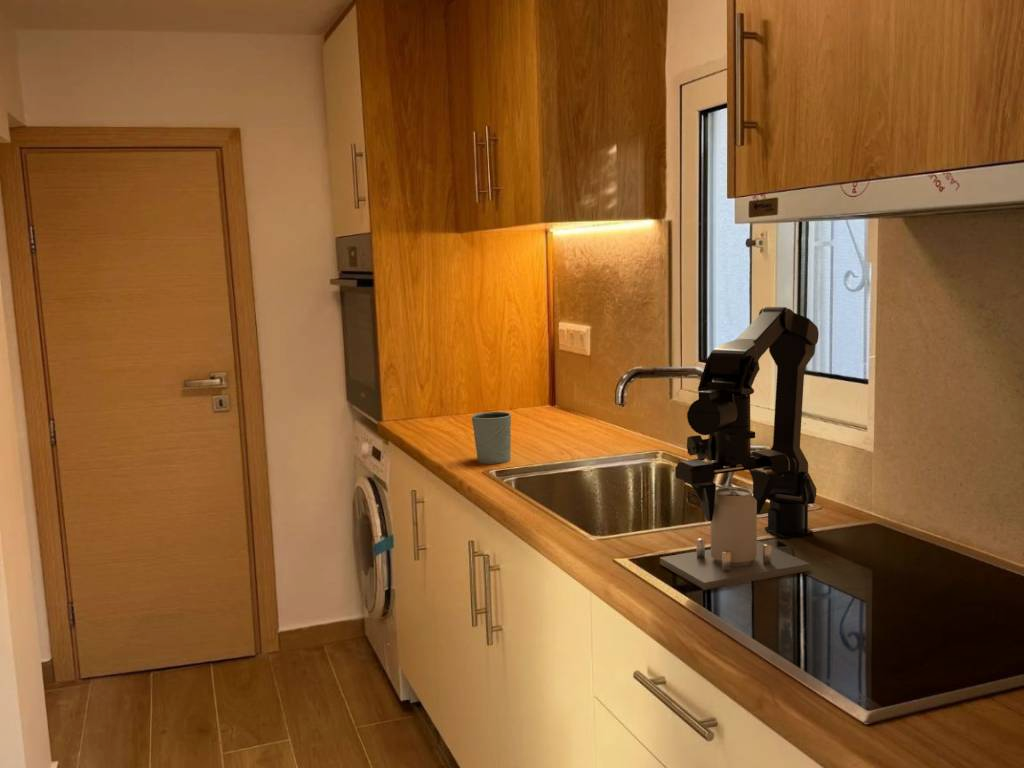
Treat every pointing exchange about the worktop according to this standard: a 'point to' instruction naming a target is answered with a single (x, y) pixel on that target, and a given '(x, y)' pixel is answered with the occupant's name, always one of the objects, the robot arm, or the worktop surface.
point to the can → (734, 525)
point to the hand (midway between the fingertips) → (733, 516)
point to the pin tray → (713, 574)
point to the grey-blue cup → (492, 437)
